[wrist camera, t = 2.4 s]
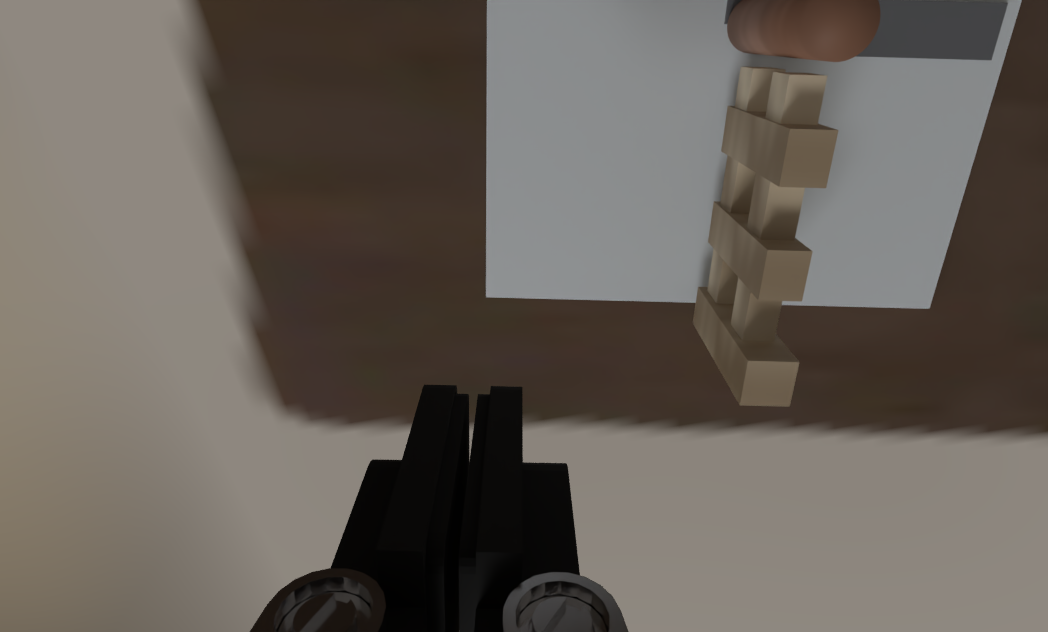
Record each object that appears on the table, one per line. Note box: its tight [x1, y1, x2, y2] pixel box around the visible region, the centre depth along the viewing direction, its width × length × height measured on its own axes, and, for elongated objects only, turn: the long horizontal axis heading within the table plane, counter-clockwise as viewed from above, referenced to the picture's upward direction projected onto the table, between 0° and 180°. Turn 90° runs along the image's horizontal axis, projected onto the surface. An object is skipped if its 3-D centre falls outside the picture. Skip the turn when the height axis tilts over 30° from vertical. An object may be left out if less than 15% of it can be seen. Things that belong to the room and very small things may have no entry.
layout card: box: [486, 0, 1022, 309], centre depth 17 cm, size 17×14×1 cm
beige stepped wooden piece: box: [693, 0, 881, 406], centre depth 16 cm, size 9×1×5 cm, turn 178°
